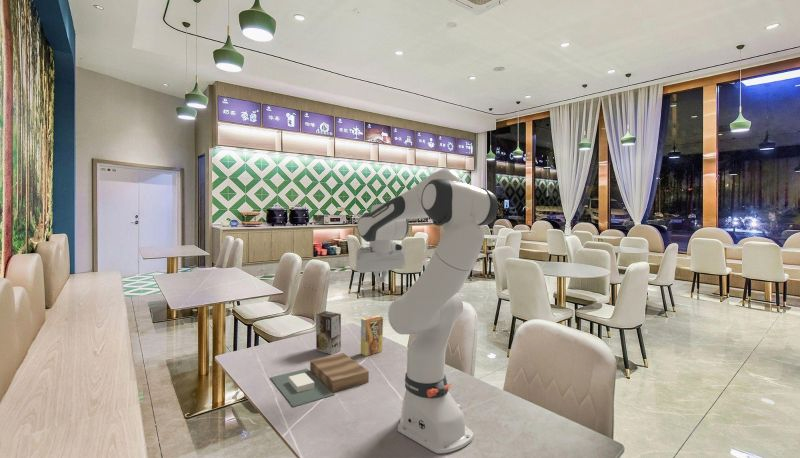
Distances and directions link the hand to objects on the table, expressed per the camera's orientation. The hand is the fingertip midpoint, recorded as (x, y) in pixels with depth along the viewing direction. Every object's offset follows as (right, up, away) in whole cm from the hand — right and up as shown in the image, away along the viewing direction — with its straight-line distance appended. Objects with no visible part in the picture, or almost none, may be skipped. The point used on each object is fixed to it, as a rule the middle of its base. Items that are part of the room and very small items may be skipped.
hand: (380, 282), depth 149 cm
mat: (-27, -35, -13) cm, 46 cm away
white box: (-27, -32, -12) cm, 44 cm away
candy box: (-5, -33, +19) cm, 38 cm away
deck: (-15, -34, -4) cm, 38 cm away
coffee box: (-24, -33, +21) cm, 45 cm away
